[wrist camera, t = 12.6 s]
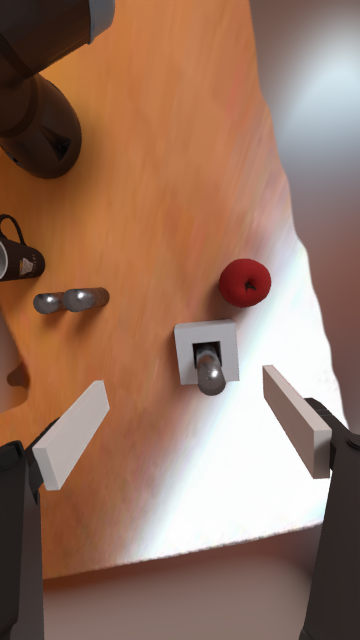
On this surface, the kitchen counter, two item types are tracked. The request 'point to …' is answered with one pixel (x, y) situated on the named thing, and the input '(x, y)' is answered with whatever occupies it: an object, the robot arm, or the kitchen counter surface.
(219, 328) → the hole block
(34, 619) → the robot arm
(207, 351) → the long pin
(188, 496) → the kitchen counter surface
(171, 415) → the kitchen counter surface
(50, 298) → the short pin
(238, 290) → the apple
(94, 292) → the medium pin
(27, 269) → the coffee mug
